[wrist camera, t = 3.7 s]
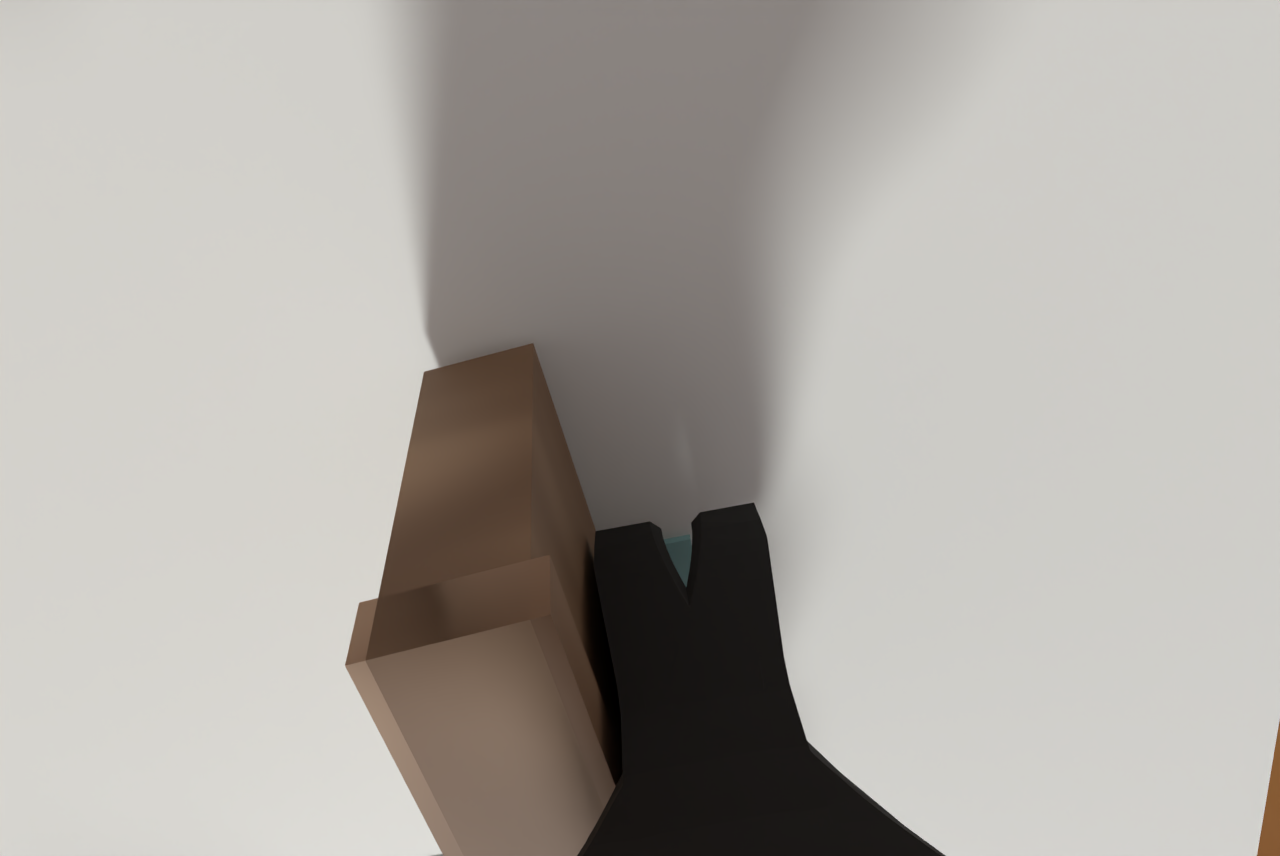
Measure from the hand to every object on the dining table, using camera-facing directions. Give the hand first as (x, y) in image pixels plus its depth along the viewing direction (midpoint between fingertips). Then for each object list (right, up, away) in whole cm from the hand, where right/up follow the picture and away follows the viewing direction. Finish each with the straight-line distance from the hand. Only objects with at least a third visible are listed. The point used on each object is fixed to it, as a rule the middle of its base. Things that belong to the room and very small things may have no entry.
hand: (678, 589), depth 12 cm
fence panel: (-1, -1, +1) cm, 2 cm away
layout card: (0, -3, +3) cm, 4 cm away
